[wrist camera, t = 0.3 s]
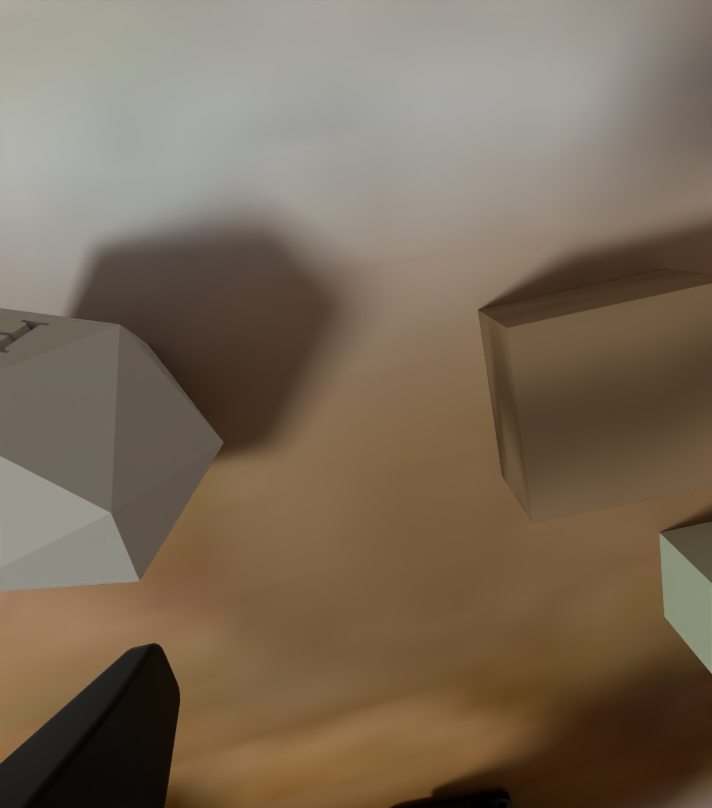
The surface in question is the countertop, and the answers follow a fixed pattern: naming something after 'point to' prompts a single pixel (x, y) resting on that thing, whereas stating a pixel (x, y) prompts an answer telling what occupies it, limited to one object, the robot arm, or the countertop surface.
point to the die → (90, 452)
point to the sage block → (689, 586)
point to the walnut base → (603, 392)
